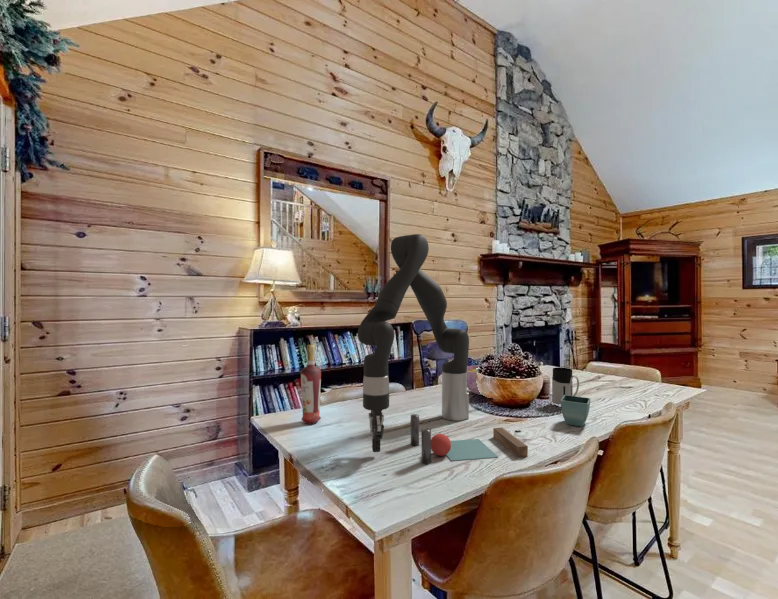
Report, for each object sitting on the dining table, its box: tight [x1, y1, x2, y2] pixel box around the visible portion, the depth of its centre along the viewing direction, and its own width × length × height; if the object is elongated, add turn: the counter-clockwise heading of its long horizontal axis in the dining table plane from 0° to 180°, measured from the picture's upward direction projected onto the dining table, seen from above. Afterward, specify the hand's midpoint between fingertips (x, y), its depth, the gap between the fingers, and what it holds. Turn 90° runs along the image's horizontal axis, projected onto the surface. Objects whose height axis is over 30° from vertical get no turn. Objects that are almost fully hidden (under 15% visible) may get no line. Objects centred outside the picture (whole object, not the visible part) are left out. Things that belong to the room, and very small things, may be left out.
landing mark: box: [445, 438, 499, 462], centre depth 118 cm, size 14×14×1 cm
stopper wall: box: [492, 427, 529, 458], centre depth 120 cm, size 3×16×3 cm, turn 10°
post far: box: [410, 413, 420, 447], centre depth 122 cm, size 3×3×9 cm
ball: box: [431, 433, 451, 457], centre depth 114 cm, size 6×6×6 cm
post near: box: [421, 428, 432, 465], centre depth 109 cm, size 3×3×9 cm
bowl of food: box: [467, 365, 480, 396], centre depth 182 cm, size 20×20×12 cm
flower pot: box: [560, 395, 591, 427], centre depth 141 cm, size 9×9×9 cm
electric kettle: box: [551, 366, 580, 404], centre depth 162 cm, size 9×14×15 cm, turn 12°
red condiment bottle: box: [300, 344, 322, 425], centre depth 143 cm, size 7×7×28 cm
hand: (376, 451), depth 113 cm, fingers closed
